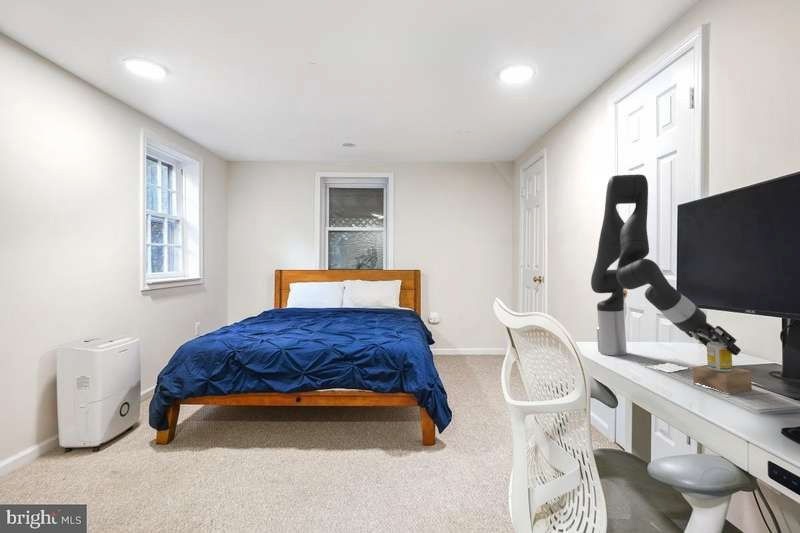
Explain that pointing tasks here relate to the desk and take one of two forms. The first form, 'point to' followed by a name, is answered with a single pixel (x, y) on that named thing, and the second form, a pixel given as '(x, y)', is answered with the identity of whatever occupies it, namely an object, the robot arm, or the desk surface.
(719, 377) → the walnut block
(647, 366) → the page
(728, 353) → the supplement bottle
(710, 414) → the desk surface
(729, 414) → the desk surface
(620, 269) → the robot arm
